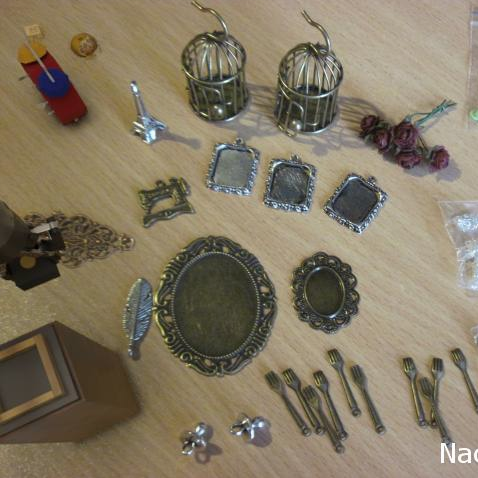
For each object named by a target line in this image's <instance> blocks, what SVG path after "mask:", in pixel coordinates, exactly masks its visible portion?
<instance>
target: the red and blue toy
mask: <svg viewBox="0 0 478 478" xmlns="http://www.w3.org/2000/svg"><path fill="white" fill-rule="evenodd" d="M17 62H19V64H20V66H21V68H22V69H23V70H24V72H25V75H24V76H21V77H20V78H18V79H17V81H18V82H21V81H24V80H25V79H26V78H29V79H30V81H31V83H33V85H32V84H30V85H29V90H30V89H31V90H34V88H36V89H37V91H38V92H39V94H40V95H41V96H42V98H43V99H44V101H45V102H39V103H37V105H36V108H38V109H37V110H43V109H44V108H45V107H46V106H47V105H48V106H49V108H50V109H51V110H52V111H48V113H47V115H48V116H53V114H54V115H55V116H56V118H57V119H58V120H59V121H60V123H61V124H62V126H66V125H67V124H69V123H71V122H73V121H74V122H78V121H79V118H81V117H82V116H84V115H85V114H87V113H89V111H88V107H87V106H86V103H85V102H84V100H83V98H82V97H81V95H80V94H79V92H78V91H77V89H76V87H75V86H74V84H73V82H72V81H71V80H70V77H69V75H68V74H67V73H66V72H65V71H64V70H63V68H62V67H61V65H60V64H59V63H58V61H57V60H56V59H55V58H54V56H53V55H52V54H51V52H50V51H48V49H47V46H46V45H44V44H42V43H40V42H39V41H36V42H34V41H32V42H30V41H28V42H27V40H25V39H24V40H23V44H22V45H21V46H20V47H18V49H17Z"/></svg>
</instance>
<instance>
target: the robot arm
mask: <svg viewBox="0 0 478 478" xmlns="http://www.w3.org/2000/svg"><path fill="white" fill-rule="evenodd" d="M63 237H64V236H63V235H62V232H61V230H60V227H59V225H58V222H57V219H56V217H55V216H49V217H47V218H46V219H45V223H43V224H41V225H38V226H35V225H33V224H30V223H26V221H24V220H23V218H22V217H20V216H19V215H18V214H17V213H16V212H15V211H14V210H13V209H12V208H10V206H9V205H8V204H7V203H6V202H5V201H3V200H1V199H0V278H1V279H2V280H4V281H7V282H9V281H11V282H13V283H15V282H14V279H13V276H12V273H11V270H10V268H9V265H8V263H9V262H11V261H13V260H15V259H17V258H20V257H24V256H27V257H33V258H38V257H40V256H44V257H46V258H47V259H48V260H49V261H51V262H52V263H53V264H55V265H58V264H60V261H61V260H62V256H61V252H60V251H63V250H65V249H66V248H67V246H66V243H65V239H64V238H63Z"/></svg>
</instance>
